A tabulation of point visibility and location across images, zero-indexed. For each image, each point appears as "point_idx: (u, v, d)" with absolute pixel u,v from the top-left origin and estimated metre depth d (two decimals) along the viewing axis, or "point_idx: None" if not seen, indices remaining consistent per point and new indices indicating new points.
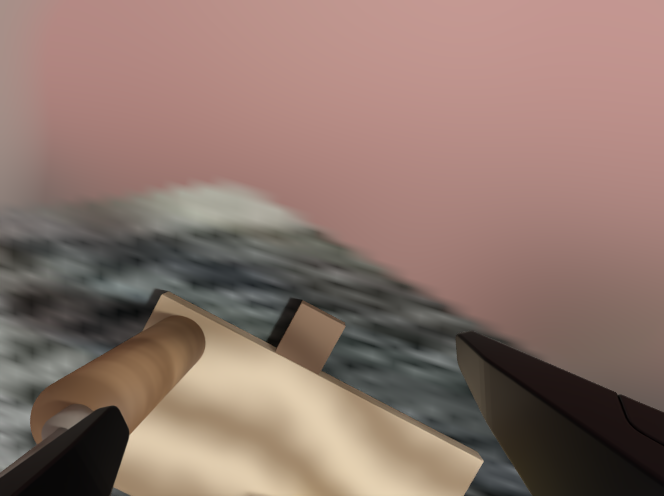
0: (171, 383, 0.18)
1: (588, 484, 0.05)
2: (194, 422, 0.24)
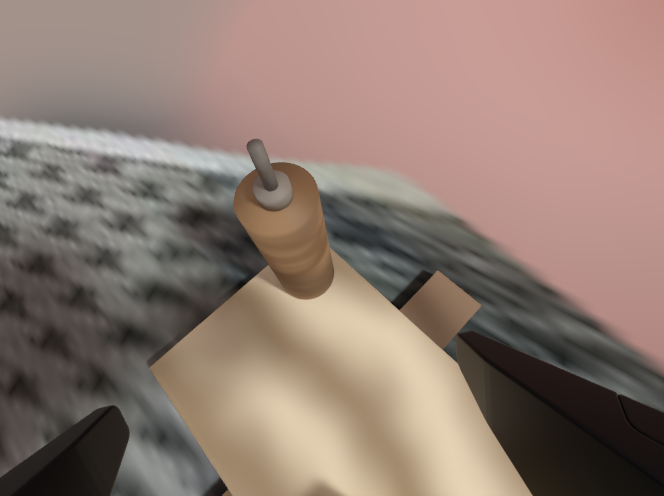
0: (322, 255, 0.18)
1: (588, 484, 0.05)
2: (291, 360, 0.21)
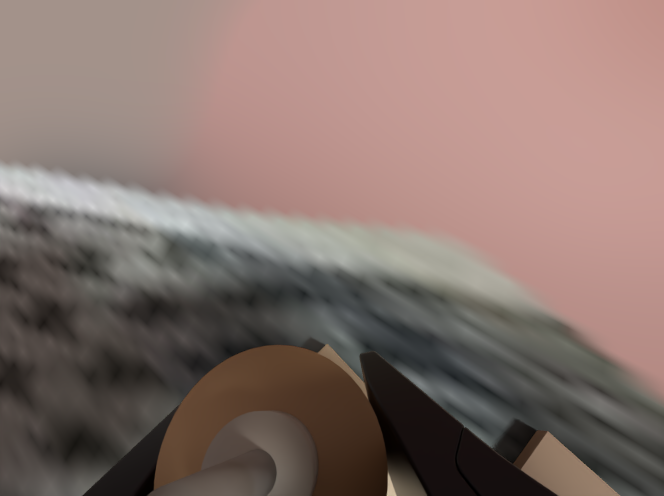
0: None
1: None
2: None
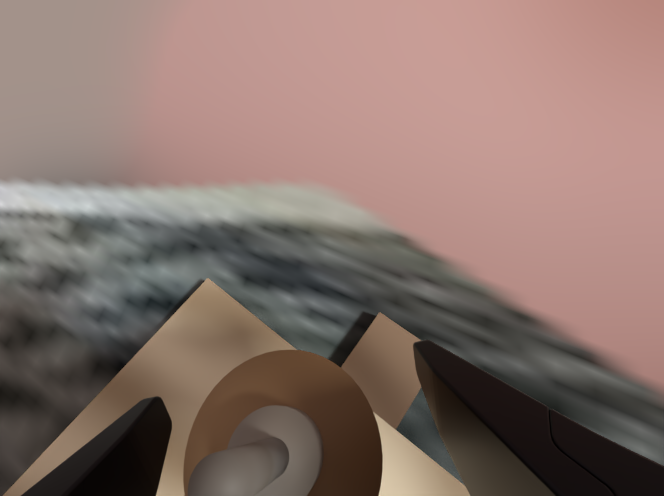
0: None
1: None
2: None
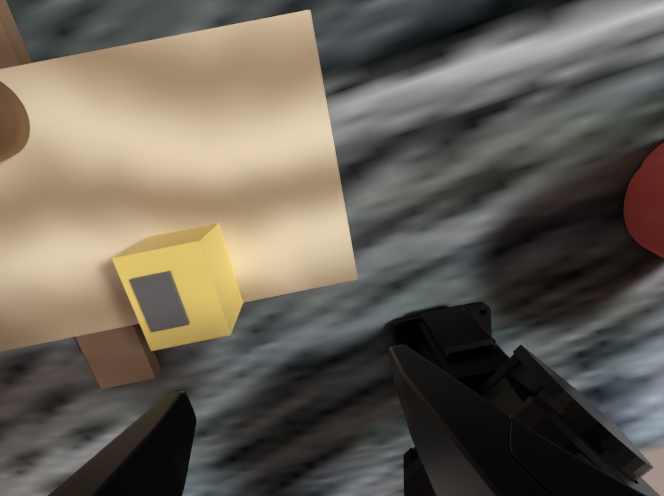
0: None
1: None
2: None
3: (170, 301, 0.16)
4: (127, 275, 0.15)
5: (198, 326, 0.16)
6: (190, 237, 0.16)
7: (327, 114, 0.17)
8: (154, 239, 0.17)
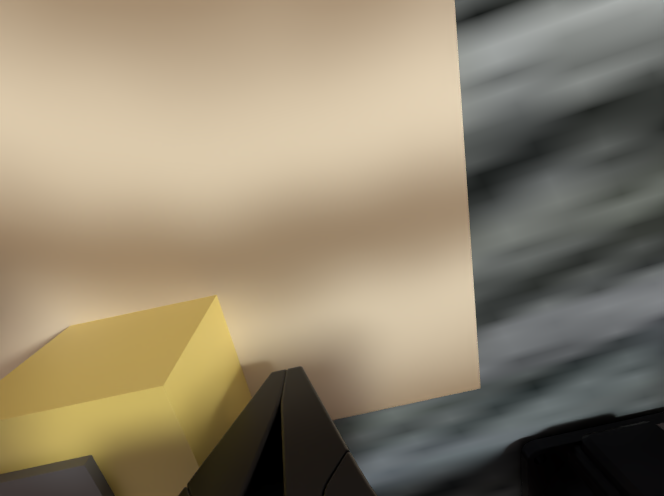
0: None
1: None
2: None
3: None
4: None
5: None
6: (147, 355, 0.07)
7: (456, 63, 0.08)
8: (75, 342, 0.08)
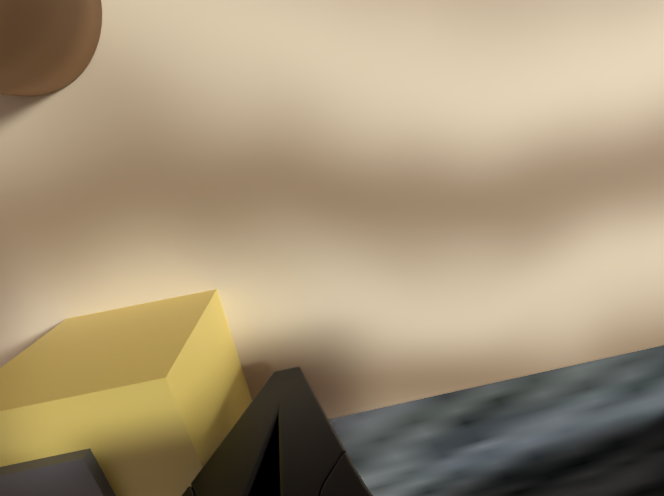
0: None
1: None
2: None
3: None
4: None
5: None
6: (148, 348, 0.07)
7: None
8: (72, 335, 0.08)
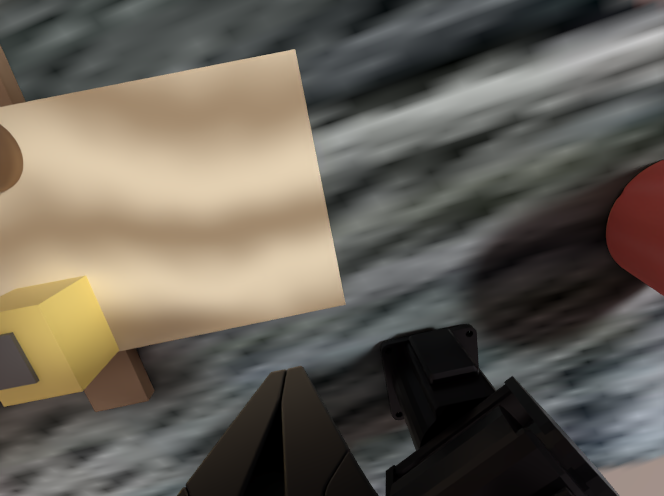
0: None
1: None
2: None
3: (15, 361, 0.16)
4: None
5: (48, 383, 0.17)
6: (39, 297, 0.16)
7: (313, 148, 0.17)
8: (14, 294, 0.17)
